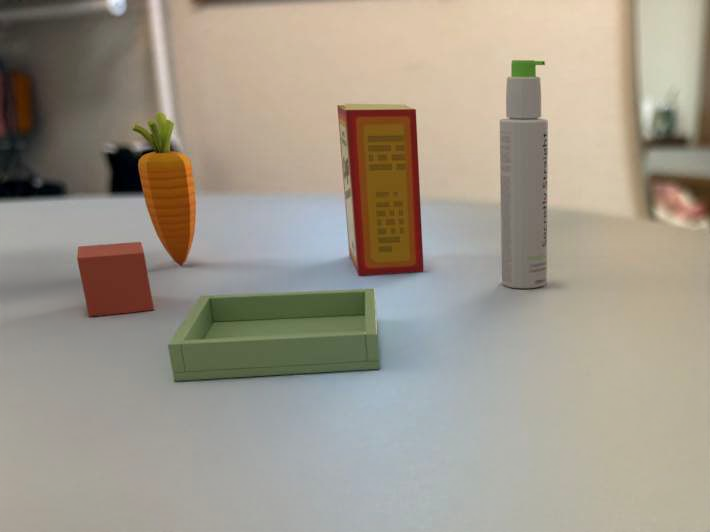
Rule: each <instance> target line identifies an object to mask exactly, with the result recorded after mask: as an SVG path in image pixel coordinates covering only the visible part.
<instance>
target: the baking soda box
mask: <svg viewBox="0 0 710 532" xmlns="http://www.w3.org/2000/svg"><path fill="white" fill-rule="evenodd" d="M337 118H338V130H339V132H338V133H339V144H340V154H341V169H342V179H343V180H342V181H343V182H342V183H343V193H344V205H345V217H346V218H345V219H346V229H347V243H348V254H349V255H348V257H349V258H350V260H351V263H352V264H353V266H354V269H355V272H356V273H357V276H375V275H390V274H391V275H393V274H405V273H408V274H409V273H423V272H424V252H423V249H424V248H423V232H422V231H423V230H422V229H423V228H422V211H421V210H422V209H421V208H422V207H421V189H420V187H421V186H420V168H419V167H420V166H419V145H418V144H419V143H418V127H417V126H418V125H417V123H418V122H417V109H416V108H413V107H411V106H408V105H406V104H394V103H393V104H392V103H391V104H389V103H388V104H387V103H385V104H383V103H381V104H380V103H345V102H344V104H337Z"/></svg>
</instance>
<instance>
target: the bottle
mask: <svg viewBox="0 0 710 532" xmlns="http://www.w3.org/2000/svg"><path fill="white" fill-rule="evenodd" d="M545 65H546V61H545V60H532V59H527V60H526V59H513V60H511V68H510V69H511V71H510V72H511V73H510V76H507V77H506V90H505V117H506V118H501V119H499V172H500V174H499V175H500V177H499V178H500V179H499V180H500V182H499V183H500V246H501V247H500V249H501V253H500V255H501V257H500V258H501V284H502V285H503V286H505V287H507V288H513V289H520V290H521V289H522V290H523V289H526V290H527V289H537V288H541V287H544V286H546V284H547V282H548V174H549V173H548V172H549V171H548V169H549V168H548V163H549V162H548V161H549V160H548V158H549V156H548V155H549V153H548V152H549V145H548V143H549V121H548V119H546V118H542V87H541V77H539V76H537V72H536V71H537V69H536V66H545Z"/></svg>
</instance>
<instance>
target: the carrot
mask: <svg viewBox="0 0 710 532" xmlns="http://www.w3.org/2000/svg"><path fill="white" fill-rule="evenodd" d="M154 116H155V120H156V121H155V120H153V119H149V120H147V121H146V123H147V125H148V127H149V130H150V132H149V131H148V130H147V129H146V128H145V127H142V125H138V124H133V125H132V127H131V130H132V131H134V132H136V133H138V134H140V135H141V136H142V137H143V138H144V139H145V140H146V141H147V142H148V143H149V145H150V146H151V148H152V149H153V151H151V152H148V153H145V154H143V155H141V157H140V158H139V159H138V163H137V167H138V173H139V174H138V175H139V178H140V184H141V189H142V192H143V193H142V194H143V197H144V201H145V206H146V209H147V212H148V215H149V218H150V220H151V223H152V225H153V228H154V230H155V231H154V232H155V233H156V236H157V237H158V239H159V241H160V243H161V244H162V247H163V248H164V250H165V251H166V252H167V254H168V255H169V256H170V258H171V259H172V261H173V262H175V263H176V264H177V265H178V266H183V265H184V264H185V262H186V261H187V259H188V256H189V254H190V251H191V249H192V246H193V241H194V237H195V231H196V212H197V201H196V189H195V182H194V181H195V180H194V172H193V165H192V162H191V161H192V160H191V159H190V157H189V156H187V155H186V154H184V153H182V152H181V151H180V152H179V151H173V150H171V138H172V134H173V131H174V124H175V123H174V122H173V121H172V120H171V119H167V116H166V114H164V113H163V112H156V113H155V114H154Z"/></svg>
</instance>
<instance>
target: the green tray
mask: <svg viewBox="0 0 710 532" xmlns="http://www.w3.org/2000/svg"><path fill="white" fill-rule="evenodd" d="M377 316H378V315H377V302H376V289H375V288H360V289H359V288H358V289H357V288H354V289H331V290H309V291H308V290H307V291H287V292H285V291H283V292H261V293H259V292H258V293H239V294H213V295H200V296H199V298H198V299H197V300H196V302H195V304H194V305H193V307H192V308H191V310H190V311H189V312H188V314H187V316H186V317H185V318H184V320H183V322H182V323H181V325H180V326H179V327H178V329H177V330H176V331H175V333H174V335H173V337H171V339H170V341H169V342H168V343H167V348H168V353H169V360H170V365H171V371H172V377H173V381H174V382H181V381H182V382H183V381H184V382H185V381H197V380H198V381H199V380H216V379H235V378H251V377H268V376H282V375H299V374H302V375H303V374H314V373H315V374H316V373H317V374H319V373H334V372H350V371H353V372H354V371H367V370H369V371H370V370H380V351H379V334H378V333H379V332H378V317H377Z"/></svg>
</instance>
